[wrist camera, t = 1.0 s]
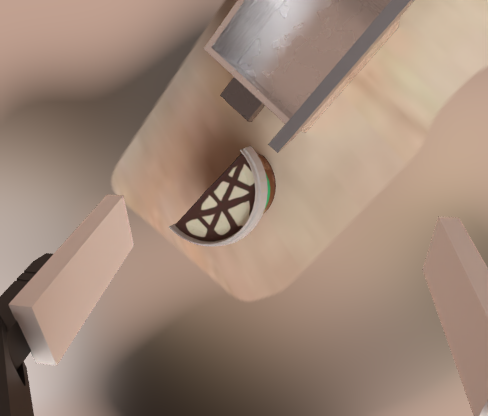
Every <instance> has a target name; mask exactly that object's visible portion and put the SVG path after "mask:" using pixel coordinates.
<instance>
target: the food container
mask: <svg viewBox="0 0 488 416" xmlns="http://www.w3.org/2000/svg"><path fill="white" fill-rule="evenodd" d="M240 151H241V153H242V154H241V155H240V156H239V157H237V159H236V160H235V161H234V162H233V164H232V165H231V166H230V167H229V168H228V169H227V170H226V171H225V172H224V173H223V174H222V175H221V176H220V177H219V178H218V179H217V180H216V181H215V182H214V183H213V184H212V185H211V186H210V187H209V188H208V189H207V190H206V191H205V192H204V194H203V195H202V196H201V197H200V198H199V199H198V201H197V202H196V203H195V204H194V205H193V206H192V207H191V208H190V209H189V210H188V212H187V213H186V214H185V215H184V216H183V217H182V218H181V219H180V220H179V221H178V222H177V223H176V224H174V225H171V226H169V228H170V229H171V230H172V231H173V232H174V233H176V234H177V235H178V236H180V237H181V238H183V239H185V240H187V241H189V242H191V243H194V244H197V245H202V246H223V245H228V244H231V243H234V242H237V241H239V240H240V239H242V238H244V237H245V236H246V235H248V234H249V233H250V232H251V231H252V230H253V229H254V228H255V226H256V225H257V224H258V222H259V220H260V219H261V217H262V214H264V213H265V212H266V211H267V209H268V208H269V207H270V205H271V203H272V201H273V199H274V195H275V188H276V184H275V177H274V173H273V170H272V168H271V166H270V164H269V162H268V161H267V160H266V158H265V157H264V156H261V155H258V154H257V153H256V152H255V151H254V149H253V148H252V147H251V146H249V147H245V148H244V149H242V150H240Z"/></svg>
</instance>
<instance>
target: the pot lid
mask: <svg viewBox="0 0 488 416" xmlns="http://www.w3.org/2000/svg"><path fill="white" fill-rule="evenodd" d="M413 1H414V0H391V1H390V2H389V3H388V5H387V6H386V7H385V8H384V9H383V10H382V12H381V13H380V14H379V15H378V16H377V17H376V19H375V20H374V21H373V22H372V23H371V24H370V26H369V27H368V28H367V29H366V30H365V32H364V33H363V34H362V35H361V36H360V37H359V39H358V40H357V41H356V42H355V43H354V44H353V46H352V47H351V48H350V49H349V50H348V51H347V53H346V54H345V55H344V56H343V57H342V58H341V60H340V61H339V62H338V63H337V64H336V66H335V67H334V68H333V69H332V70H331V71H330V73H329V74H328V75H327V76H326V77H325V78H324V80H323V81H322V82H321V83H320V84H319V85H318V87H317V88H316V89H315V90H314V91H313V93H312V94H311V95H310V96H309V97H308V98H307V100H306V101H305V102H304V103H303V104H302V105H301V107H300V108H299V109H298V110H297V111H296V112H295V114H294V115H293V116H292V117H291V118H290V120H289V121H288V122H287V123H286V124H285V125H284V127H283V128H282V129H281V130H280V131H279V132H278V134H277V135H276V136H275V137H274V138H273V139H272V141H271V142H270V143H269V144H268V145H269V146H270V147H272V148H273V149H274V150H275V151H276V152H277V153H278V152H279V151H280V150H281V149H282V148H284V147H285V146H286V145H287V144H288V143H289V142H290V141H291V140H292V139H293V138H294V137H295V136H296V135H297V134H298V133H299V132H300V131H301V129H302V128H303V127H304V126H305V125H306V124H307V123H308V121H309V120H310V119H311V118H312V117H313V116H314V115H315V113H316V112H317V111H318V110H319V109H320V108H321V107H322V105H323V104H324V103H325V102H326V101H327V100H328V99H329V97H330V96H331V95H332V94H333V93H334V92H335V91H336V89H337V88H338V87H339V86H340V85H341V84H342V83H343V81H344V80H345V79H346V78H347V77H348V76H349V75H350V73H351V72H352V71H353V70H354V69H355V68H356V67H357V65H358V64H359V63H360V62H361V61H362V60H363V58H364V57H365V56H366V55H367V54H368V53H369V52H370V50H371V49H372V48H373V47H374V46H375V45H376V44H377V42H378V41H379V40H380V39H381V38H382V37H383V36H384V34H385V33H386V32H387V31H388V30H389V29H390V28H391V26H392V25H393V24H394V23H395V22H396V21H397V20H398V18H399V17H400V16H401V15H402V14H403V13H404V12H405V10H406V9H407V8H408V7H409V6H410V5H411V4H412V2H413Z"/></svg>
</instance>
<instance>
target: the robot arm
mask: <svg viewBox="0 0 488 416" xmlns="http://www.w3.org/2000/svg"><path fill="white" fill-rule="evenodd" d="M133 246H134V244H133V239H132V235H131V229H130V225H129V220H128V215H127V210H126V206H125V201H124V196H122V195H106V196H105V197H104V199H103V200H102V201H101V202H100V203H99V204H98V205H97V206H96V207H95V208H94V210H93V211H92V212H91V213H90V214H89V215H88V216H87V217H86V218H85V220H84V221H83V222H82V223H81V224H80V225H79V226H78V227H77V229H76V230H75V231H74V232H73V233H72V234H71V235H70V236H69V238H68V239H67V240H66V241H65V242H64V243H63V244H62V245H61V246H60V247H59V249H58V250H57V251H56V252H55V253H54V254H47V253H46V254H44V255H43V256H41V257H40V258H38V259H37V260H35V261H33V262H32V263H31V265H30V266H29V267H28V268H27V269H26V270H25V271H24V273H22V274H21V275H20V276H19V277H18V278H17V281H14V282H13V284H12V285H11V286H10V287H9V288H8V289H7V290H6V291H5V292H4V293H3V294H2V295H1V296H0V416H34V413H33V407H32V400H31V394H30V387H29V381H28V375H27V368H26V366H25V363H24V360H25V358H26V357H27V356H28V354H29V353H30V352H31V354H32V356H33V358H34V360H35V362H36V363H41V364H49V365H57V364H58V363H59V361H60V360H61V358H62V357H63V355H64V353H65V352H66V350H67V349H68V347H69V346H70V344H71V343H72V341H73V340H74V338H75V336H76V334H77V333H78V332H79V330H80V328H81V327H82V326H83V324H84V322H85V321H86V319H87V318H88V316H89V315H90V313H91V311H92V310H93V308H94V307H95V305H96V304H97V302H98V300H99V299H100V297H101V296H102V294H103V293H104V291H105V290H106V288H107V286H108V285H109V283H110V282H111V280H112V279H113V277H114V276H115V274H116V272H117V271H118V269H119V268H120V266H121V265H122V263H123V262H124V260H125V258H126V257H127V255H128V254H129V252H130V251H131V249H132V248H133ZM423 273H424V276H425V278H426V281H427V284H428V287H429V290H430V293H431V296H432V298H433V301H434V304H435V307H436V310H437V313H438V315H439V318H440V321H441V324H442V326H443V330H444V333H445V335H446V338H447V341H448V344H449V347H450V350H451V352H452V355H453V358H454V361H455V364H456V367H457V369H458V372H459V375H460V378H461V381H462V384H463V386H464V390H465V392H466V395H467V398H468V401H469V404H470V406H471V409H472V412H473V415H474V416H488V268H487V266H486V264H485V263H484V261H483V259H482V257H481V256H480V254H479V252H478V250H477V249H476V247H475V245H474V243H473V242H472V240H471V238H470V236H469V234H468V233H467V231H466V229H465V227H464V226H463V224H462V222H461V220H460V219H459V218H454V217H439V216H438V220H437V223H436V226H435V230H434V233H433V236H432V240H431V243H430V247H429V250H428V253H427V257H426V260H425V263H424V266H423Z"/></svg>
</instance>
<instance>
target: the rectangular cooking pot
mask: <svg viewBox="0 0 488 416" xmlns="http://www.w3.org/2000/svg"><path fill="white" fill-rule="evenodd" d="M390 1H391V0H238V1H237V2H236V3H235V5H234V6H233V8H232V9H231V10H230V12H229V13H228V15H227V16H226V17H225V19H224V20H223V22H222V23H221V25H220V26H219V27H218V29H217V30H216V32H215V33H214V34H213V36H212V37H211V39H210V40H209V42H208V43H207V44H206V46H205V47H204V50H205V51H206V52H208V53H209V54H210V55H211V56H212V57H213V58H214V59H215V60H216V61H217V62H218V63H220V64H221V65H222V66H223V67H224V68H225V69H226V70H227V71H228V72H229V73H230V74H232V75H233V76H234V78H233V79H232V80H231V82H230V83H229V84H228V86H227V87H226V88H225V89H224V91H223V92H222V93H221V95H220V96H221V97H223V98H224V99H225V100H226V101H227V102H228V103H229V104H230V105H231V106H232V107H233V108H234V109H235V110H236V111H237V112H239V113H240V114H241V115H242V116H243V117H244V118H245V119H246V120H247V121H250V122H252V121H253V119H254V118H255V117H256V116H257V114H258V113H259V112H260V111H261V110H262V108H263V107H264V106H266V107H267V108H269V109H270V110H271V111H272V112H273V113H274V114H275V115H276V116H277V117H278V118H279V119H280V120H282V121H283V122H284V123H285V124H286V123H287V122H288V121H289V120H290V118H291V117H292V116H293V115H294V114H295V112H296V111H297V110H298V109H299V108H300V107H301V105H302V104H303V103H304V102H305V101H306V100H307V98H308V97H309V96H310V95H311V94H312V93H313V91H314V90H315V89H316V88H317V87H318V85H319V84H320V83H321V82H322V81H323V80H324V78H325V77H326V76H327V75H328V74H329V73H330V71H331V70H332V69H333V68H334V67H335V66H336V64H337V63H338V62H339V61H340V60H341V58H342V57H343V56H344V55H345V54H346V53H347V51H348V50H349V49H350V48H351V47H352V46H353V44H354V43H355V42H356V41H357V40H358V39H359V37H360V36H361V35H362V34H363V33H364V32H365V30H366V29H367V28H368V27H369V26H370V24H371V23H372V22H373V21H374V20H375V19H376V17H377V16H378V15H379V14H380V13H381V12H382V10H383V9H384V8H385V7H386V6H387V5H388V3H389V2H390ZM399 19H400V17H399V18H398V20H397V21H396V22H395V23H394V24H393V25H392V26H391V28H390V29H389V30H388V31H387V32H386V33H385V34H384V36H383V37H382V38H381V39H380V40H379V41H378V42H377V44H376V45H375V46H374V47H373V48H372V49H371V50H370V52H369V53H368V54H367V55H366V56H365V57H364V58H363V60H362V61H361V62H360V63H359V64H358V65H357V67H356V68H355V69H354V70H353V71H352V72H351V73H350V75H349V76H348V77H347V78H346V79H345V80H344V81H343V83H342V84H341V85H340V86H339V87H338V88H337V89H336V91H335V92H334V93H333V94H332V95H331V96H330V97H329V99H328V100H327V101H326V102H325V103H324V104H323V105H322V107H321V108H320V109H319V110H318V111H317V112H316V113H315V115H314V116H313V117H312V118H311V119H310V120H309V121H308V123H307V124H306V125H305V126H304V127H303V128H302V129H301V131H302V132H305V133H306V132H307V131H308V130H309V128H310V127H311V126H312V125H313V124H314V123H315V122H316V120H317V119H318V118H319V117H320V116H321V115H322V114H323V112H324V111H325V110H326V109H327V108H328V107H329V106H330V105H331V103H332V102H333V101H334V100H335V99H336V98H337V97H338V95H339V94H340V93H341V92H342V91H343V90H344V89H345V88H346V86H347V85H348V84H349V83H350V82H351V81H352V80H353V78H354V77H355V76H356V75H357V74H358V73H359V72H360V71H361V69H362V68H363V67H364V66H365V65H366V64H367V63H368V61H369V60H370V59H371V58H372V57H373V56H374V55H375V54H376V52H377V51H378V50H379V49H380V48H381V47H382V46H383V44H384V43H385V42H386V41H387V40H388V39H389V38H390V37H391V35H392V34H393V33H394V32H395V31H396V30H397V29H398V27H399Z"/></svg>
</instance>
